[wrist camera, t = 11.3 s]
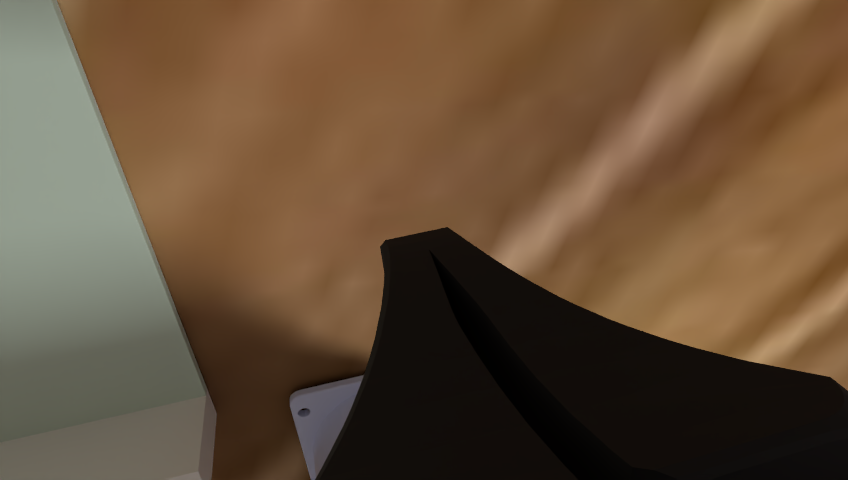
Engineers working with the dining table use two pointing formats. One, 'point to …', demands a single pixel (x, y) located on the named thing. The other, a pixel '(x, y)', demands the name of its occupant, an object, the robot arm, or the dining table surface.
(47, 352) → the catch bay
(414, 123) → the dining table surface
